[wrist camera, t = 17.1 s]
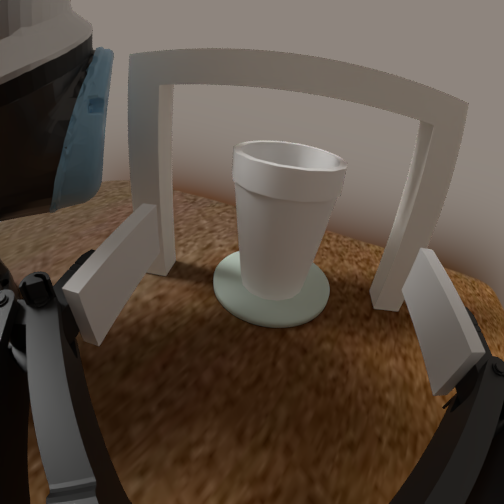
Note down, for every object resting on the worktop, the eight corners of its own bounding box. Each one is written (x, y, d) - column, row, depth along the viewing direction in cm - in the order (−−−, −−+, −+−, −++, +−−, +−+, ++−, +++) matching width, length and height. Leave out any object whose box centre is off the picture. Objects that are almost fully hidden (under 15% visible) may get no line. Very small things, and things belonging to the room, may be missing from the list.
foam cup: (210, 266, 31) (214, 142, 24) (280, 246, 36) (296, 139, 28) (260, 325, 24) (282, 175, 17) (335, 292, 29) (370, 169, 22)
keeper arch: (122, 297, 27) (98, 52, 15) (166, 237, 37) (165, 57, 25) (407, 342, 24) (498, 110, 13) (384, 270, 35) (433, 96, 23)
